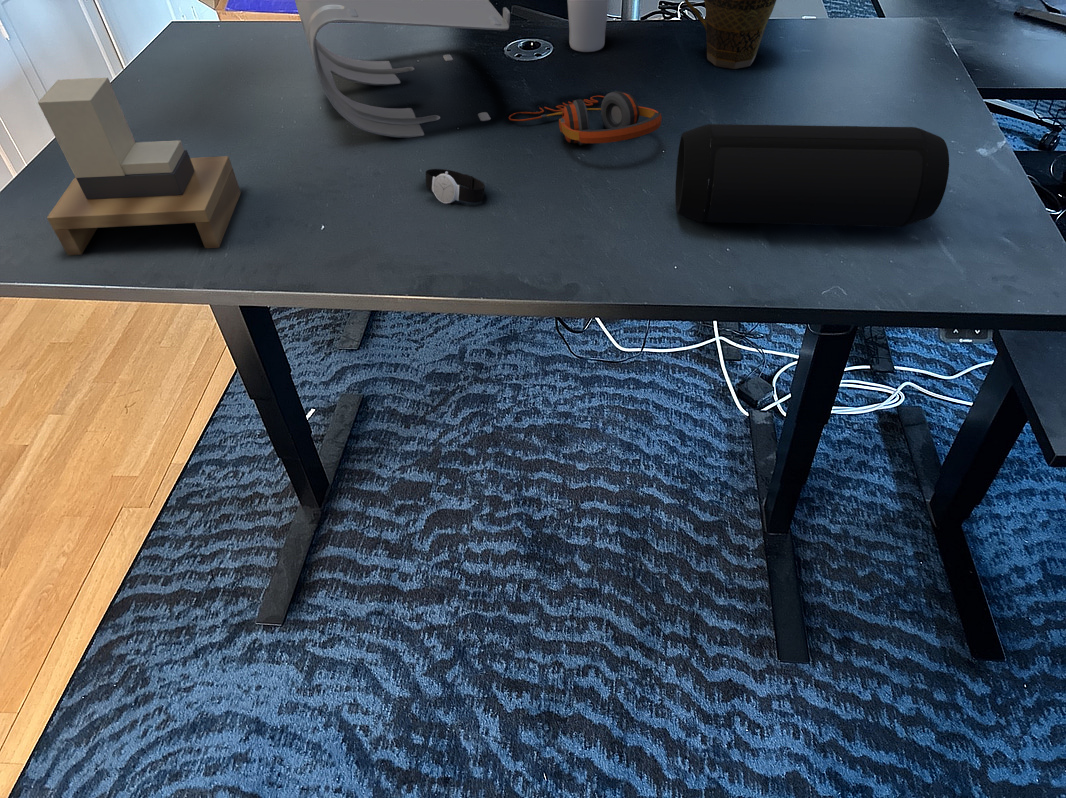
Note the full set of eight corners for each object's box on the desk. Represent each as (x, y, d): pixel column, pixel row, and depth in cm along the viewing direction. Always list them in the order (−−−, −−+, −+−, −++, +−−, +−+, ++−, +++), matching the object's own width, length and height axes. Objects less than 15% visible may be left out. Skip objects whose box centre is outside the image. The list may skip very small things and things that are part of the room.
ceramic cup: (773, 51, 114) (787, -23, 106) (756, 79, 107) (770, 2, 100) (688, 38, 118) (696, -33, 110) (667, 64, 111) (674, -10, 104)
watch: (417, 195, 89) (413, 167, 86) (442, 177, 91) (439, 149, 89) (470, 215, 85) (467, 186, 83) (495, 196, 88) (493, 167, 85)
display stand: (68, 258, 82) (46, 217, 78) (103, 202, 89) (84, 162, 86) (220, 250, 82) (204, 209, 78) (242, 195, 90) (228, 155, 86)
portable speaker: (903, 195, 86) (935, 109, 79) (927, 247, 79) (964, 158, 72) (672, 190, 88) (682, 106, 81) (676, 241, 81) (687, 153, 74)
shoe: (86, 199, 80) (37, 102, 73) (102, 174, 84) (57, 79, 76) (182, 195, 80) (143, 97, 73) (195, 170, 84) (158, 74, 76)
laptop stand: (311, 73, 112) (284, -44, 101) (468, 49, 117) (458, -66, 106) (336, 156, 95) (306, 26, 84) (518, 123, 100) (512, -4, 89)
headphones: (504, 135, 103) (568, 172, 87) (498, 94, 100) (564, 124, 84) (615, 110, 107) (695, 140, 92) (613, 69, 105) (695, 94, 89)
